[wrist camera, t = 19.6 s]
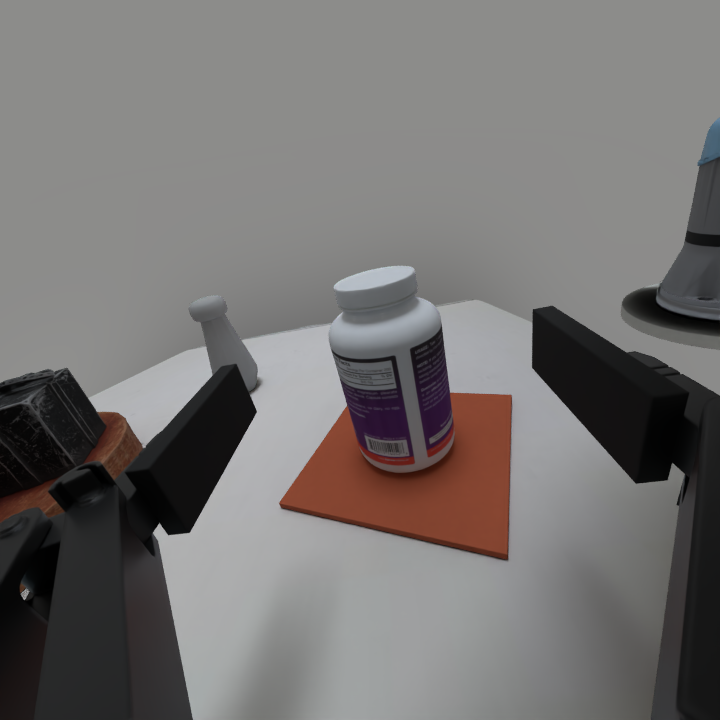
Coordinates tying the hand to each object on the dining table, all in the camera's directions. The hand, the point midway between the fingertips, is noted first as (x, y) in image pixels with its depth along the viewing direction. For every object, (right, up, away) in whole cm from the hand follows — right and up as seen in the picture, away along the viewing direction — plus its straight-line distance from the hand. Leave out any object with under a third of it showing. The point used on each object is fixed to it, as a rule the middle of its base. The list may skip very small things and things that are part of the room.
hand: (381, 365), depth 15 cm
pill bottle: (+3, -7, +14) cm, 16 cm away
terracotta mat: (+3, -7, +14) cm, 16 cm away
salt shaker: (-17, -4, +31) cm, 36 cm away
